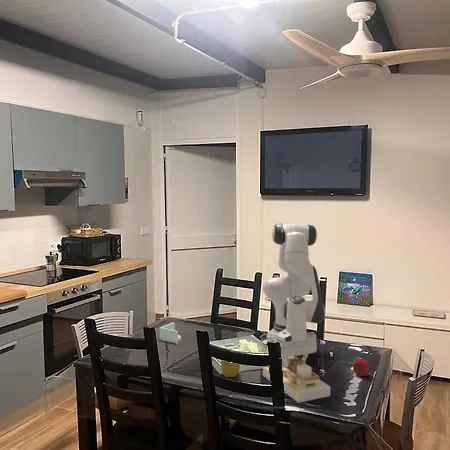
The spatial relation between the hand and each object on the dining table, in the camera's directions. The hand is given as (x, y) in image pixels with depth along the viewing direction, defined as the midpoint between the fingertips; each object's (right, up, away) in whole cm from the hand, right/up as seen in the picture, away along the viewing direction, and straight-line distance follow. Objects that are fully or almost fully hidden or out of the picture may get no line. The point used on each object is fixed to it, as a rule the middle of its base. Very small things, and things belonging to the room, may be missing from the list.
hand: (295, 364), depth 217 cm
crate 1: (-2, -2, +6) cm, 7 cm away
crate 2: (+3, -3, -6) cm, 7 cm away
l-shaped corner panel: (-59, -3, +61) cm, 85 cm away
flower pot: (-29, -8, +11) cm, 32 cm away
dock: (0, -9, +1) cm, 9 cm away
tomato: (+32, -9, +12) cm, 35 cm away
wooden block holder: (0, -5, +1) cm, 5 cm away
